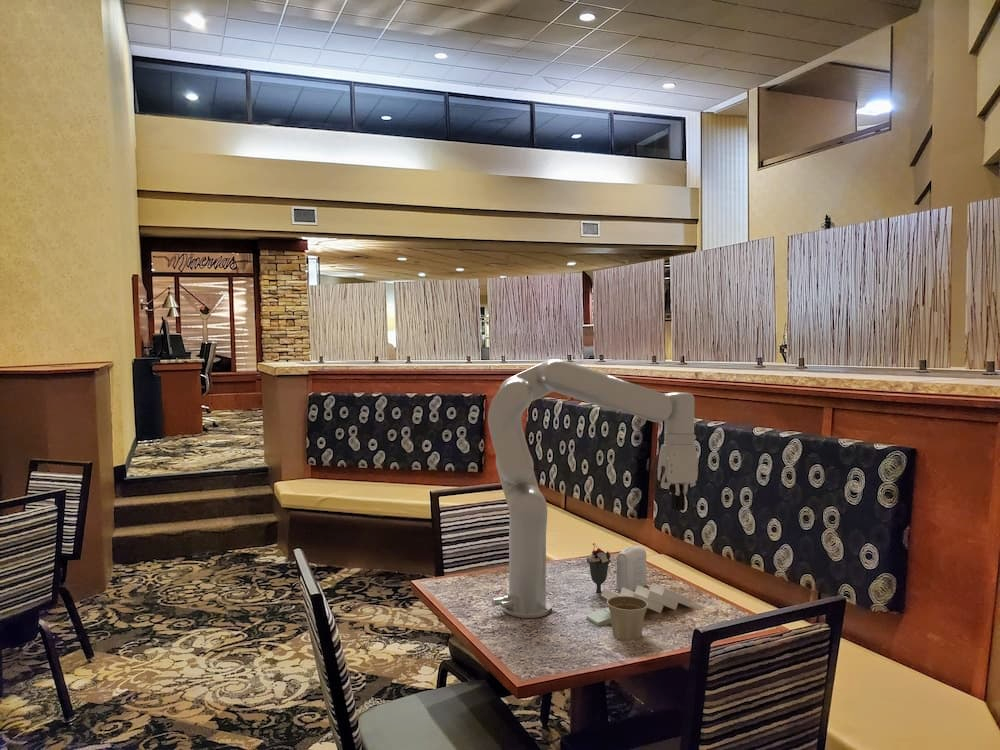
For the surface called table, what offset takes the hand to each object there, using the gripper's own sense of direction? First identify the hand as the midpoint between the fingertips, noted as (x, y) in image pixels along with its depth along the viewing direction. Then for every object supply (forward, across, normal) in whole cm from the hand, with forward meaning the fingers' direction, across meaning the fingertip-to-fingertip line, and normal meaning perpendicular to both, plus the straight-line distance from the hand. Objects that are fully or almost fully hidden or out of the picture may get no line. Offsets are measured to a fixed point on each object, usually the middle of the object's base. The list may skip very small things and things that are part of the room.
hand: (678, 509), depth 177 cm
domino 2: (+23, +9, +2) cm, 25 cm away
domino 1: (+23, +14, +3) cm, 27 cm away
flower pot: (+26, +24, +12) cm, 38 cm away
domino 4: (+23, -1, +2) cm, 23 cm away
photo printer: (+26, +4, -15) cm, 30 cm away
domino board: (+26, +8, +2) cm, 27 cm away
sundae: (+26, +15, -14) cm, 33 cm away
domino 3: (+23, +4, +2) cm, 24 cm away
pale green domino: (+23, +18, +3) cm, 29 cm away
